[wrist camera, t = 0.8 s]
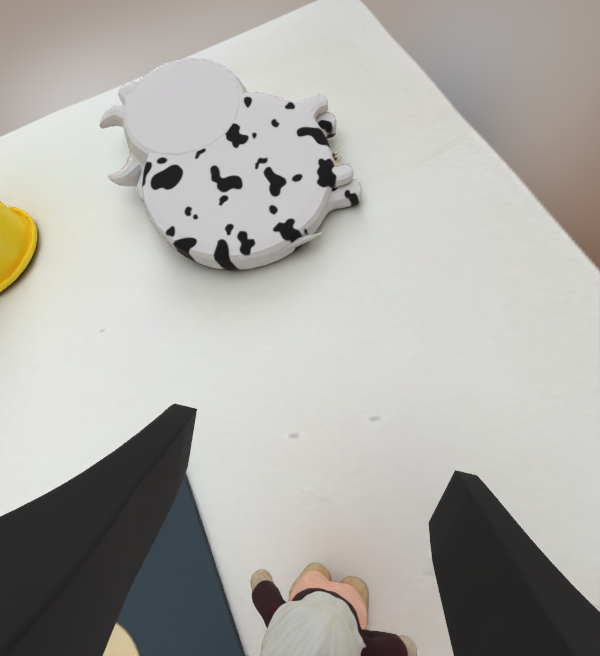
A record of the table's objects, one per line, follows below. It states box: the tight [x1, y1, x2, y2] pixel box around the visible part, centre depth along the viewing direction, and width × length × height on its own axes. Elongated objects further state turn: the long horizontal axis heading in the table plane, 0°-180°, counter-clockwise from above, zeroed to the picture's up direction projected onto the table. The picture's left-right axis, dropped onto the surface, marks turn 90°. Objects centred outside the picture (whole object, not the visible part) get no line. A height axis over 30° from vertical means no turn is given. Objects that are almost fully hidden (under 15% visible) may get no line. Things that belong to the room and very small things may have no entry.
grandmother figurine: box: [251, 563, 417, 656], centre depth 19 cm, size 8×4×13 cm, turn 81°
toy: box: [100, 58, 362, 270], centre depth 37 cm, size 22×5×20 cm
